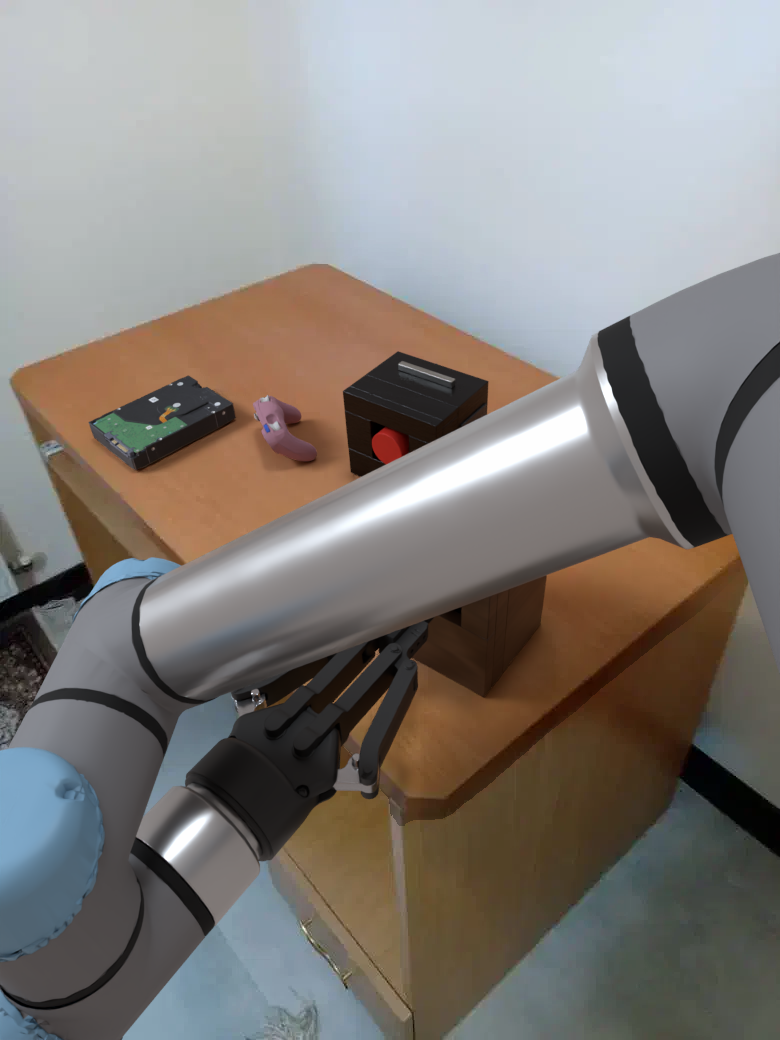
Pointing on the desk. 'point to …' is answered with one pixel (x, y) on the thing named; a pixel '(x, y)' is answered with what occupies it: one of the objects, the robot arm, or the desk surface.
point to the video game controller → (282, 428)
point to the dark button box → (408, 405)
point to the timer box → (483, 636)
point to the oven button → (390, 445)
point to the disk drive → (162, 422)
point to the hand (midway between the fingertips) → (434, 593)
